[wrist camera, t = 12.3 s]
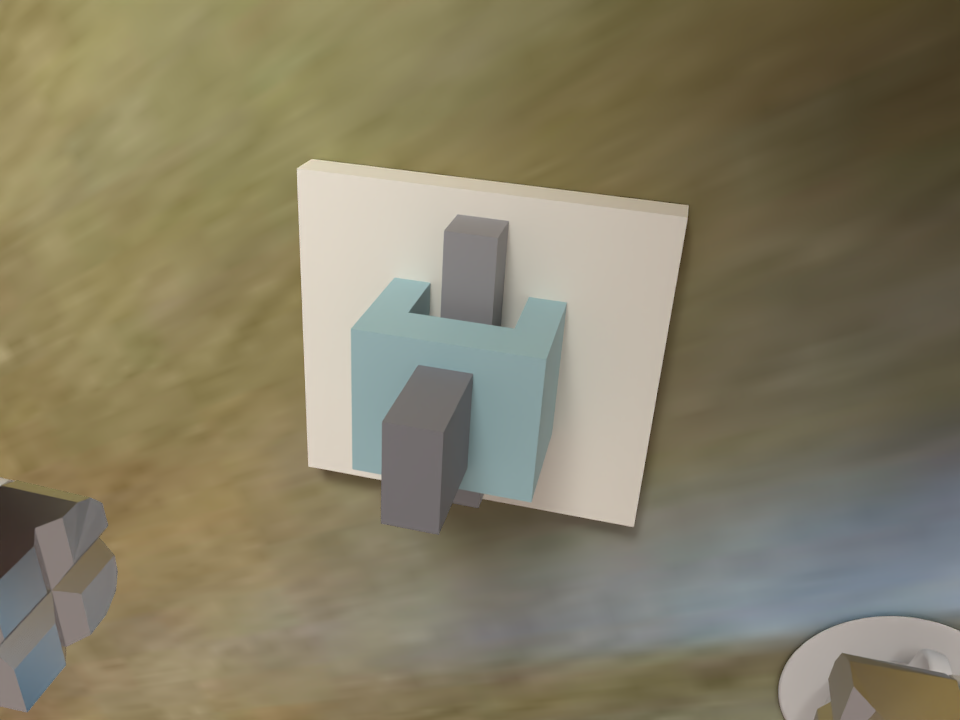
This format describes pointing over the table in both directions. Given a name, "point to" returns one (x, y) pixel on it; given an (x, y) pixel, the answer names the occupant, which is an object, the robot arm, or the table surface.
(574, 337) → the cleat board
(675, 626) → the table surface
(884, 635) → the teacup
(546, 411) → the block
